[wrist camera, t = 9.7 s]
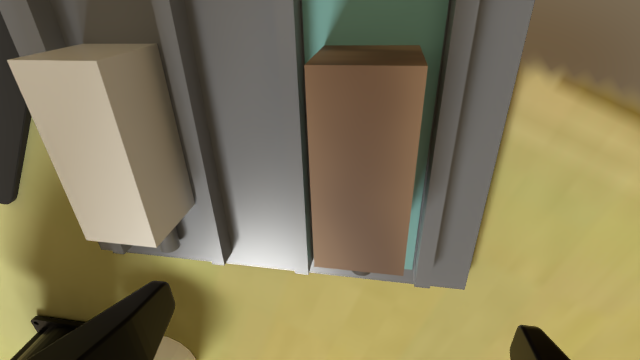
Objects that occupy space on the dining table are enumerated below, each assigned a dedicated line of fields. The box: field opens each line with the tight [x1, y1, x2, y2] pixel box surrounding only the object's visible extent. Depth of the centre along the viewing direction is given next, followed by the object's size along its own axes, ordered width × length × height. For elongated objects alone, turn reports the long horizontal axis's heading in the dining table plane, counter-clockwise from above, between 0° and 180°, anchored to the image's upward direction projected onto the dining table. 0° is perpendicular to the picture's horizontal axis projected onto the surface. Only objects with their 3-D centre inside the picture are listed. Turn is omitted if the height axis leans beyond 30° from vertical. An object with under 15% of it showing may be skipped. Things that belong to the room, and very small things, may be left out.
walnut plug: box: [304, 45, 428, 276], centre depth 16 cm, size 4×12×4 cm, turn 2°
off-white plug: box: [7, 44, 195, 253], centre depth 18 cm, size 4×12×4 cm, turn 2°
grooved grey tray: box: [0, 0, 535, 290], centre depth 18 cm, size 24×18×2 cm
